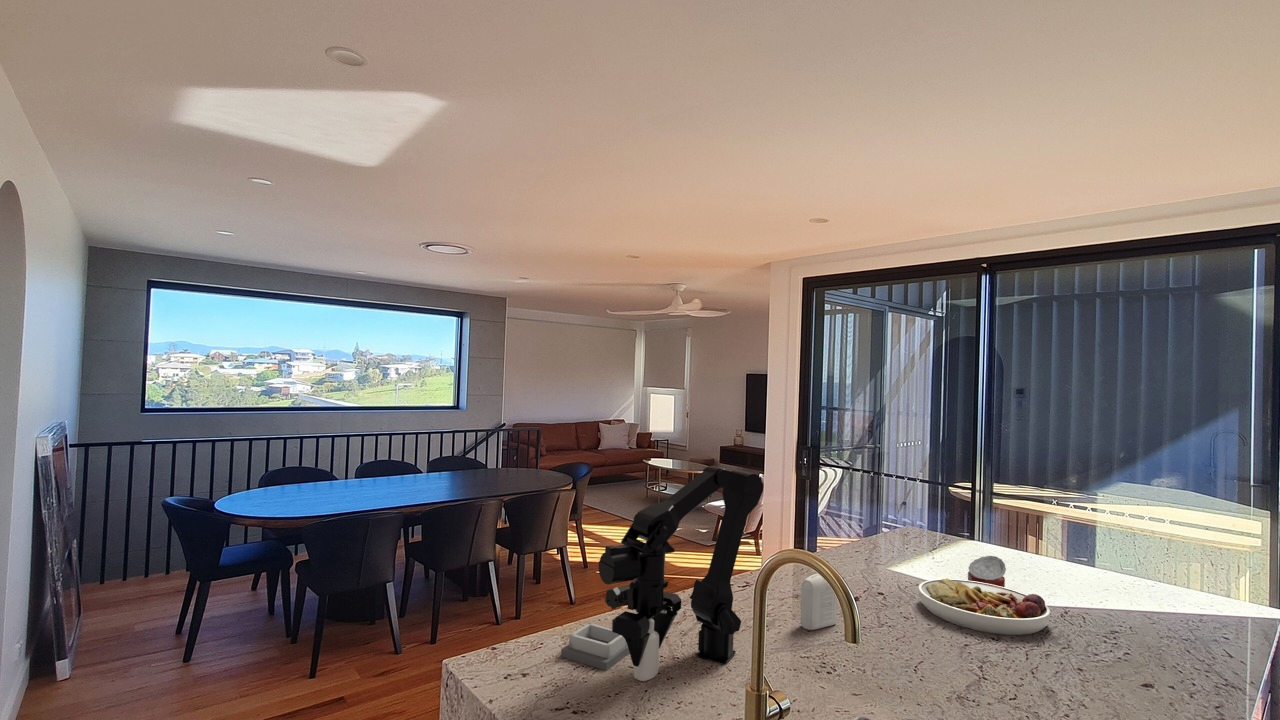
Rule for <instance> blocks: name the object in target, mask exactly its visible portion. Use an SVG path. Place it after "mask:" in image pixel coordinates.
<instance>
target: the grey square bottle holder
mask: <svg viewBox="0 0 1280 720" xmlns="http://www.w3.org/2000/svg"><path fill="white" fill-rule="evenodd" d="M568 638H569V639H568V644H567V645H566V646H564V647H563V648H561V649H560V650H561V651H560V657H562V658H563V659H566V660H567V659H568V660H571V661H574V662H577V663H580V664H584V665H587V666H591V667H593V668H597V669H600V670H604V671H608V670H609V669H610V668H612V667H613V666H614V665H616V664H617V663H619V662H620V661H622V660H623V659H624V658H625V657H626V656H628V655H630V652H629V649H628V645H627V642H626V640H625V638H624V637H623V636H621V635H618V634H617V633H614V632H612V628H609V627H606V626H601V625H599V624H594V623H590V622H589V623H586V625H584V626H582V627H581V628H579V629H577V630H574V632H572V633H569V636H568Z"/></svg>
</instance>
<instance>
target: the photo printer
mask: <svg viewBox="0 0 1280 720" xmlns="http://www.w3.org/2000/svg"><path fill="white" fill-rule="evenodd" d="M801 583H802V584H801V591H800V592H801V594H800V595H801V599H800V625H801V627H802V628H803V629H805V630H807V631H808V630H809V631H812V630H818V629H822V628H826V627H827V628H828V627H830V626H833V625H836V624H837V623H838V606H839V605H838V603H839V602H838V600H839V599H838V600H837V598H836V596H835V594H834V592H833V590H832V589H831V587H830V586H829V585H828V583H827V582H826V581H825V580H824V579H823V578H822V577H821V576H820V575H819V574H818V573H814V574H812V575H810V576H808V577H806V578H805V579H804V580H803V581H802V582H801Z"/></svg>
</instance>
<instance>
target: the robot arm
mask: <svg viewBox="0 0 1280 720" xmlns="http://www.w3.org/2000/svg"><path fill="white" fill-rule="evenodd" d="M721 488H722V499H723V504H724V512H723V516H722V519H721V520H722V521H721V524H720V526H719V527H720V528H719V530H718V534H717V538H716V542H715V545H714V549H713V551H712V557H711V561H710V564H709V567H708V572H707V574H706V575H705V576H704V577H703V578H702V579H701V580H700V579H696V580H695V581H694V583H693V589H692V592H691V595H690V596H689V599H690V600H691V601H690V608H691V609H692V613H693V614H694V616H695V619H696V621H697V622H700V623H701V625H700V630H699V631H698V642H697V643H698V645H697V650H698V651H699V652H698V653H697V655H696V657H697V658H700V659H704V660H706V661H710V662H714V663H718V664H722V665H726V664H728V663H729V661H731V659H732V658H733V657H734V656H735V655H736V651H737V650H736V651H735V650H734V635H735V633H736V632H739V631H740V628H741V624H742V620H741V618H740V617H739V616H738V614H736V613H735V611H734V610H733V603H734V595H733V590H732V586H731V579H732V576H733V571H734V568H735V564H736V560H737V557H738V553H739V548H740V546H741V541H742V539H743V533H744V530H745V526H746V522H747V519H748V516H749V514H750V513H752V512H753V510H754V509H755V508H756V507H757V506H758V504H759V502H760V500H761V496H762V494H763V492H764V482H763V480H762V478H761V476H760V475H759V474H757V473H753V472H752V473H751V472H747V471H743V470H739V469H733V470H731V471H730V470H727V469H725V468H724V467H720V466H719V467H718V466H714V465H709V466H708V465H707V467H704V468H703V470H702V472H701V473H699V474H698V475H697V476H695V477H694V478H693V479H692V480H690V481H689V482H688V483H687V484H686V485H684V486H683V487H682V488H680V489H679V490H678V491H676V492H675V493H674V494H672V495H671V496H669V497H668V498H667V499H665V500H663V501H661V502H657V503H654V504H650V505H648V506H647V507H644V508H643V509H641V510H639V511H638V512H637V513H636V514H635V515H633V521H632V524H631V525H630V527H629V528H628V530H627V532H626V533H625V535H624V536H623V538H622V539H621V541H620V543H621V545H606V546H605V547H604V548H605V549H604V550H605V551H604V552H603V553H602V554H601V555H600V559H599V561H598V572H599V576H600V579H601V581H602V582H603V583H604V585H612V584H618V583H619V584H620V583H625V582H630V581H631V582H630V583H629V584H628V585H624V586H623V585H622V586H619V587H618V586H615V587H613V588H612V587H611V588H609V589H606V594H605V599H604V603H605V604H606V605H607V606H608V607H610V610H616V609H617V608H622V607H626V606H627V610H631V611H635V613H634V612H630V611H627V610H626V611H623V612H621V613H620V614H618V615H617V616H616V617H614V618H613V619H612V620H611V629H612V632H614V633H617V634H618V635H621V636H623V637H624V638H625V640H626V642H627V645H628V649H629V652H630V653H629V655H630V659H631V662H632V665H633V667H634V666H637V667H638V666H639V664H640V662H641V659H642V656H643V653H644V650H645V647H646V644H647V642H648V639H649V636H650V633H648V631H649V627H650V622H649V620H650V619H653V620H654V631H656V632H657V633H658V634H659V650H660V649H661V646H662V644H663V643H664V640H665V638H666V636H667V635H668V632H669V631H670V628H671V626H672V625H673V622H674V620H675V619H676V617H677V615H678V612H679V611H680V610H681V609H682V599H681V597H680V596H679V595H678V594H677V593H673V592H669V591H665V589H666V588H667V587H668V586H669V581H668V580H665V569H666V554H671V553H675V550H676V549H675V548H674V547H673V546H672V545H671V544H670V543H669V540H670V538H671V537H672V536H673V535H674V534H675V533H676V532H677V530H678V528H679V526H680V522H681V521H682V520H683V518H685V517H686V516H687V515H688V514H690V513H691V512H692V511H693V510H694V509H696V508H697V507H698V506H699V505H701V504H702V503H703V502H704V501H706V500H707V499H708V498H709V497H710V496H712V495H713V494H714V493H716V491H718V490H719V489H721ZM638 538H639V539H641V540H643V541H641V540H639V539H638ZM644 541H645V542H644Z"/></svg>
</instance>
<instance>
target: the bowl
mask: <svg viewBox="0 0 1280 720" xmlns="http://www.w3.org/2000/svg"><path fill="white" fill-rule="evenodd" d="M917 589H918V590H917V592H918V597H919V599H920V601H921V603H922V604H923V606H924V607H925V609H927V610H928V611H929V612H930V613H932V614H933V615H935V616H936V617H938V618H940V619H942V620H944V621H946V622H949V623H951V624H954V625H957V626H960V627H964V628H967V629H971V630H974V631H978V632H983V633H988V634H995V635H996V634H997V635H1004V636H1005V635H1006V636H1023V635H1024V636H1025V635H1030V634H1031V635H1032V634H1034V633H1038V632H1039V631H1041V630H1043V629H1044V628H1045V627H1046V626H1047V625H1048V623H1049V622H1050V619H1051V610H1050V608H1049V606H1048V605H1046V601H1045V599H1044V598H1043V597H1042V596H1040V595H1038V594H1035V593H1030V594H1026V593H1023V592H1020V591H1018V590H1015V589H1012V588H1008V587H1006V586H1005V587H1001V586H997V585H992V584H987V583H982V582H976V581H968V579H956V578H954V579H953V578H938V579H937V578H935V579H930V580H926V581H923V582H921V583H920V584H919V585H918V588H917Z"/></svg>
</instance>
